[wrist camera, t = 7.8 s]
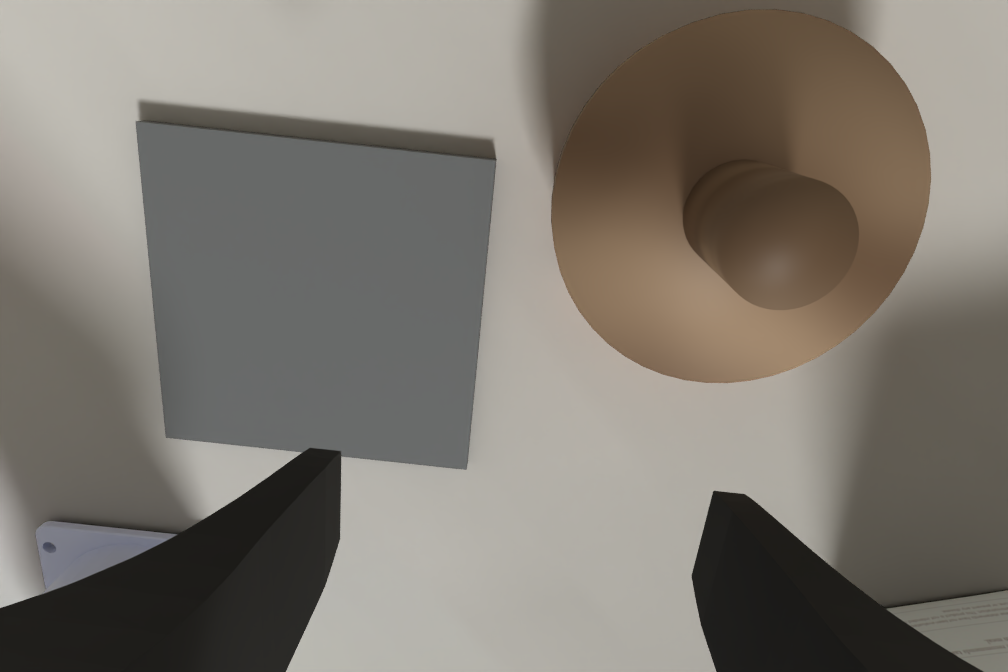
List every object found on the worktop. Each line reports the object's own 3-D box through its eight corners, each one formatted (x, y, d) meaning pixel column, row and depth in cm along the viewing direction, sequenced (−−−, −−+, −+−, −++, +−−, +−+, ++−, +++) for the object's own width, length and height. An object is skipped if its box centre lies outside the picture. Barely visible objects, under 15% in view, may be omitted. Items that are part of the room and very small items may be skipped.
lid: (833, 399, 20) (914, 481, 15) (519, 337, 19) (517, 405, 15) (977, 57, 16) (1130, 47, 12) (598, -25, 16) (623, -65, 12)
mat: (467, 462, 24) (466, 469, 24) (172, 430, 24) (165, 437, 24) (496, 159, 20) (495, 160, 20) (144, 120, 20) (135, 121, 20)
